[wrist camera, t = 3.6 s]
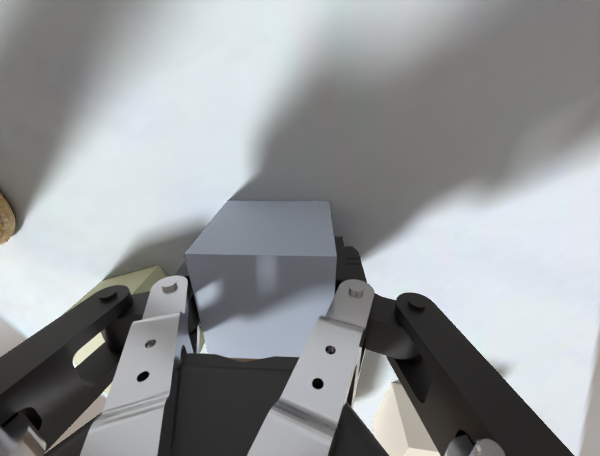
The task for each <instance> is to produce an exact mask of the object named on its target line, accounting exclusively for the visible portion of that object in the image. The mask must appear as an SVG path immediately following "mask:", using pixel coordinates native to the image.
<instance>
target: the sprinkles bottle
mask: <svg viewBox="0 0 600 456" xmlns="http://www.w3.org/2000/svg"><path fill="white" fill-rule="evenodd" d="M14 229H15V217H14V214H13V212H12V210H11V208H10V205H9V204H8V202H7V201H6V199H5V198H4V197H3V196H2V194H1V193H0V244H3V243H5V242H7V241H8V240H9V239H10V237H11V236H12V235H13V233H14Z"/></svg>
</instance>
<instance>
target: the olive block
mask: <svg viewBox="0 0 600 456" xmlns="http://www.w3.org/2000/svg"><path fill="white" fill-rule="evenodd" d="M166 277H167V276H166V275H165V273H164V272H163V270H162V269H161V267H160V266H159V265H156V266H153V267H149V268H146V269H142V270H138V271H135V272H131V273H128V274H124V275H120V276H117V277H113V278H110V279H106V280H102V281H101V282H100V283H99V284H98V285H96V286H95V287H94V288H93V289H92V290H91V291H90V292H88V293H87V294H86V295H85V296H84V297H83V298H82V299H80V300H79V301H78V302H77V303H76V304H75V305H73V306H72V307H71V308H70V309H69V310H71V309H72V308H74V307H75V306H77V305H78V304H80V303H81V302H83V301H84V300H86V299H87V298H89V297H90V296H91V295H93V294H94V293H96V292H98V291H99V290H101V289H104V288H106V287H110V286H114V285H124V286H127V287H128V288H129V290H130V293H131V295H132V294H138V293H143V292H148V291H150V290H151V288H152V286H153V285H154V284H155V283H156V282H158V281H159V280H161V279H163V278H166ZM69 310H68V311H69ZM68 311H67V312H68ZM65 313H66V312H65ZM65 313H64V314H65ZM64 314H63V315H64ZM198 325H199V324H198ZM199 329H200V339H199V354H200V352H201V349H202V347H203V345H204V343H205V339H204V335H203V331H202V328H201V327H200V325H199ZM104 342H105V341H104V339H103V336H102V334H101V332H100V333H99V334H97V335H96V336H95V337H94V338H93V339H91V340H90V341H89V342H88V343H87V344H85V345H84V346H83V347H82V348H81V349H79V350H78V351H77V353H76V354H75V356H74V358H73V361H74V362H75V363H76V364H77V365H79V364H80V363H81V362H82V361H84V360H85V359H86V358H87V357H88V356H89V355H90V354H92V353H93V352H94V351H95V350H96V349H97V348H98V347H100V346H101V345H102V344H103V343H104ZM111 385H112V383H111V384H110V385H109V386H108V387H107V388H106V389H105V390H104V392H105V393H106V394H109V391H110V388H111Z"/></svg>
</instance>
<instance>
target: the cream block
mask: <svg viewBox="0 0 600 456" xmlns="http://www.w3.org/2000/svg"><path fill="white" fill-rule="evenodd" d="M371 423H372V429H373V434H374V437H375V438H376V439H377V440H378V442H379V443H380V444H381V446H382V447H383V448H384V449H385V451H386V452H387V453H388V454H389V456H440V454H439V452H438V450H437V448H436V446H435V445H434V443H433V441H432V439H431V437H430V435H429V434H428V432H427V430H426V428H425V426H424V425H423V423H422V421H421V419H420V417H419V415H418V414H417V412H416V410H415V408H414V406H413V404H412V403H411V401H410V399H409V397H408V395H407V393H406V392H405V390H404V388H403V386H402V384H397V383H391V384H390V386H389V388H388V390H387V392H386V394H385V396H384V398H383V400H382V402H381V404H380V406H379V408H378V409H377V411H376V413H375V415H374V417H373V419H372V421H371Z"/></svg>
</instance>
